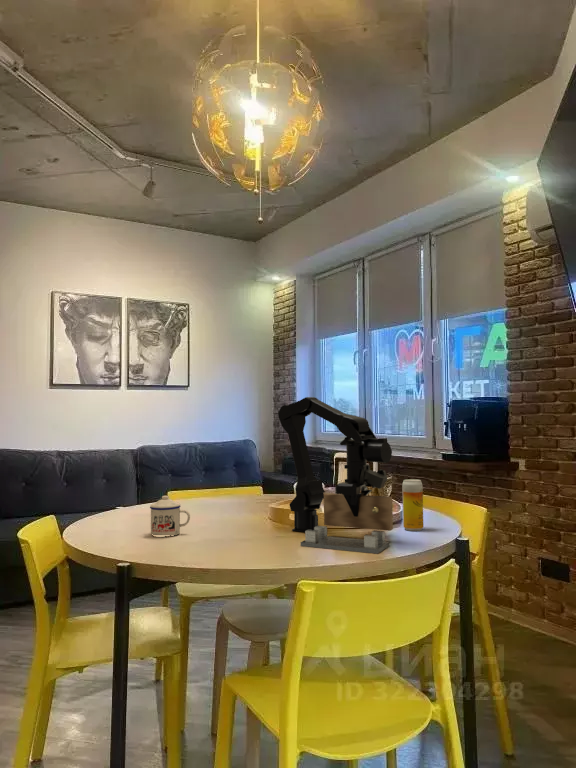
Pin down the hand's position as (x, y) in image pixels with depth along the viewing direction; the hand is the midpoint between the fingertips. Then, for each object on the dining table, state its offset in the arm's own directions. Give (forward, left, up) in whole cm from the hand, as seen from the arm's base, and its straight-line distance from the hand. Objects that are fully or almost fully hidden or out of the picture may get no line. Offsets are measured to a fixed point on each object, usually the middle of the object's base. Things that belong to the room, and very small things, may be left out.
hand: (357, 515), depth 170 cm
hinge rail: (0, -10, -6) cm, 12 cm away
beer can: (+11, +19, -7) cm, 23 cm away
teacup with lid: (-54, -17, -7) cm, 57 cm away
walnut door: (0, 0, -3) cm, 3 cm away
